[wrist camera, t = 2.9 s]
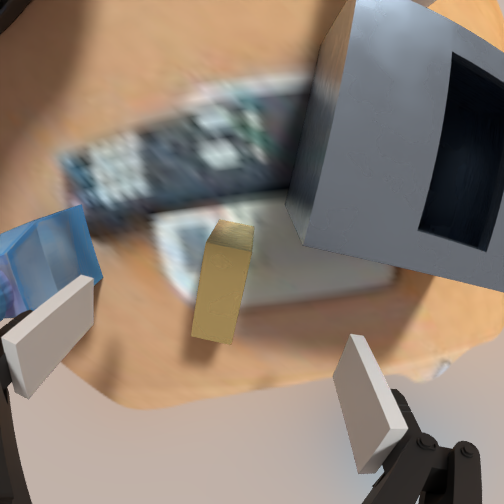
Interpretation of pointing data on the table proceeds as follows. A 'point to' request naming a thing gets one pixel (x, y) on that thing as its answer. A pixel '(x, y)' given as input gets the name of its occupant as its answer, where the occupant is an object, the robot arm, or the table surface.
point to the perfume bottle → (44, 260)
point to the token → (222, 281)
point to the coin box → (404, 145)
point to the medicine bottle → (424, 2)
